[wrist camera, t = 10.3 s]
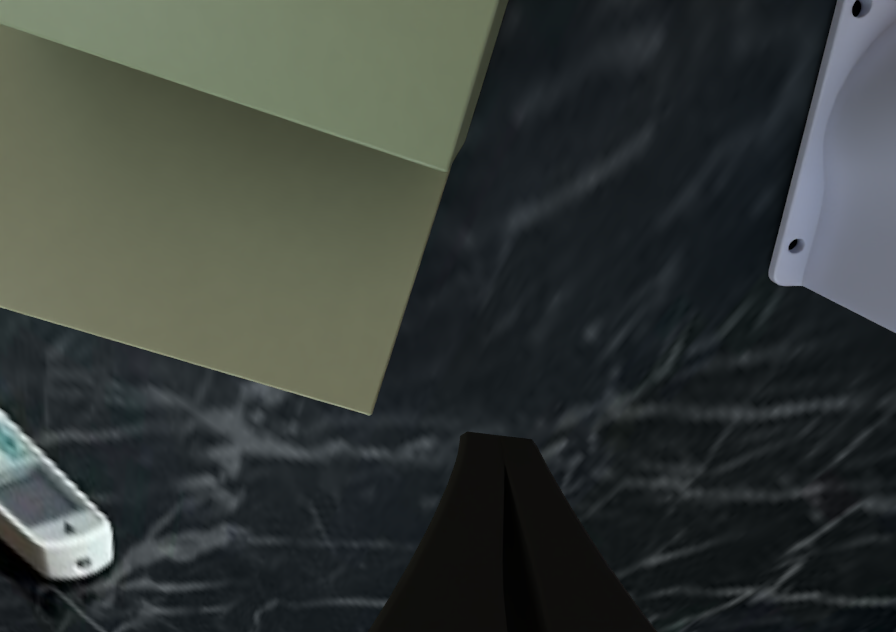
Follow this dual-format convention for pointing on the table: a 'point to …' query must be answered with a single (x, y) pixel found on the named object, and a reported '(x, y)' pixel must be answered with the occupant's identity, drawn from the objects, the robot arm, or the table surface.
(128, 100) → the oven door
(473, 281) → the table surface
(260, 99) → the oven
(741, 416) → the table surface
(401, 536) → the table surface
